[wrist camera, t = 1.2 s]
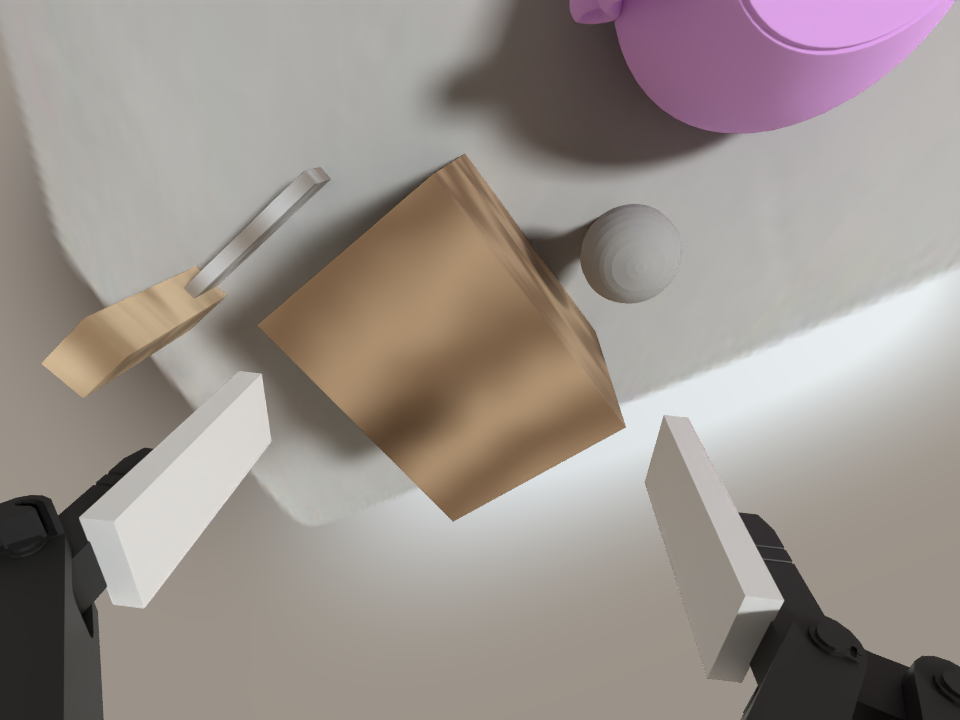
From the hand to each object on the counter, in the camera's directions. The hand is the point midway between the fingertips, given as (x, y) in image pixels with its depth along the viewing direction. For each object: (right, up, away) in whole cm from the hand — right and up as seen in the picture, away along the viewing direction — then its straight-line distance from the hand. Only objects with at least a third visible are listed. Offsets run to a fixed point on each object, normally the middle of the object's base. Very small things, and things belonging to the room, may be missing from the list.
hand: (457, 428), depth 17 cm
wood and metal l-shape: (-17, +11, +21) cm, 29 cm away
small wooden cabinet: (0, +7, +21) cm, 22 cm away
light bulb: (+10, +12, +18) cm, 24 cm away
